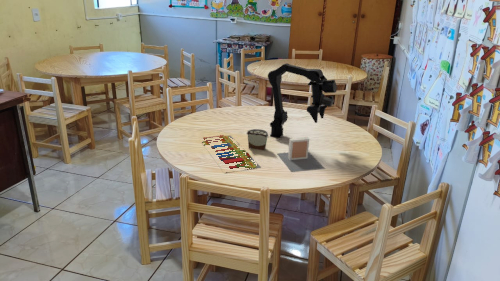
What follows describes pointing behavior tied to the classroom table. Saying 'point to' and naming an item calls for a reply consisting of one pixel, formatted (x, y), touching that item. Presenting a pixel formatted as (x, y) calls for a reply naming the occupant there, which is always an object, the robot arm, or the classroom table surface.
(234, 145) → the multicolored flat board
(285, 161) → the felt mat
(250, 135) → the food container
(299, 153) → the picture tile
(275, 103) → the robot arm
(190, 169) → the classroom table surface
